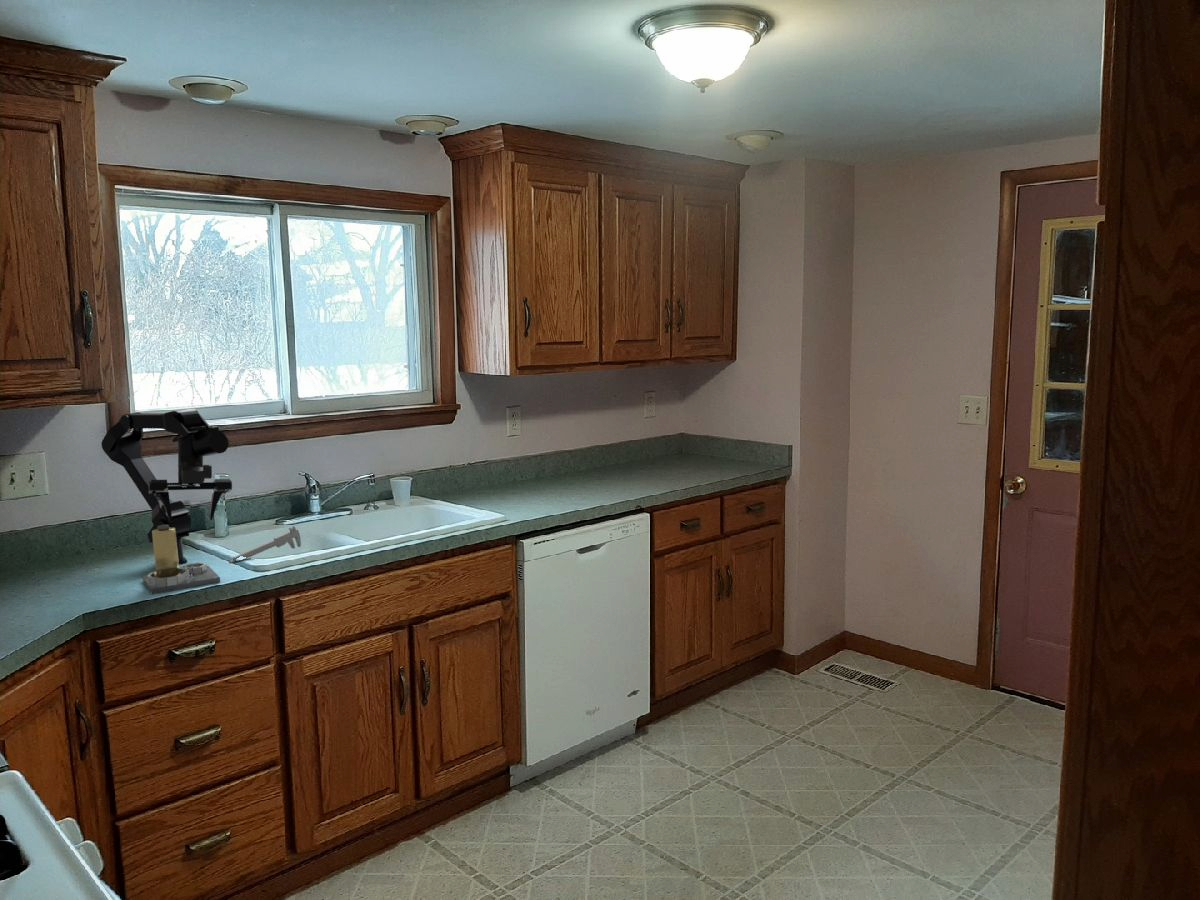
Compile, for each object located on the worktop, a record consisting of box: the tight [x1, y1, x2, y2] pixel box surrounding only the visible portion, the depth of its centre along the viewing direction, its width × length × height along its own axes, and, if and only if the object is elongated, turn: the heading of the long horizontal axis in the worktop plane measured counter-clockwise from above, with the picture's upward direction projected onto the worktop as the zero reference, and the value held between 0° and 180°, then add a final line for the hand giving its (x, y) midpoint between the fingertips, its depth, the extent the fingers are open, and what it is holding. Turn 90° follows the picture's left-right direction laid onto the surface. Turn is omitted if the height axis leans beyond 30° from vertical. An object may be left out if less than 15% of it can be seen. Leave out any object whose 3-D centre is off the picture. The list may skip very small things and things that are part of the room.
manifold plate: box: [142, 562, 221, 595], centre depth 221 cm, size 13×15×3 cm
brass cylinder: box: [152, 524, 181, 578], centre depth 216 cm, size 5×5×14 cm
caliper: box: [228, 525, 302, 564], centre depth 244 cm, size 20×1×6 cm, turn 140°
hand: (191, 520), depth 227 cm, fingers open, 9 cm apart
